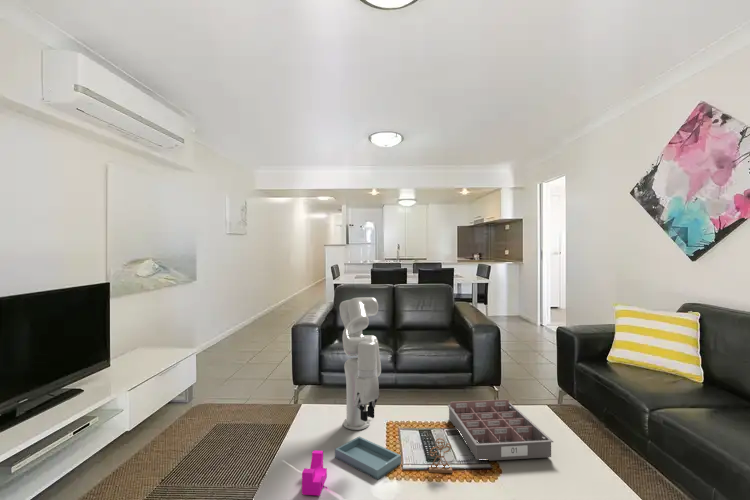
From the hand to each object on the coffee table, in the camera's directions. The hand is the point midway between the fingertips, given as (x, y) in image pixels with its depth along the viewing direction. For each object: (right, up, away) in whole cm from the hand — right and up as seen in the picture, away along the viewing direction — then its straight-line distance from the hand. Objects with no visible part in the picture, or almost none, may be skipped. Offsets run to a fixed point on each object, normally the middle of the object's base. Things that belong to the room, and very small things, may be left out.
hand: (367, 418), depth 153 cm
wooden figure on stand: (+28, -17, -6) cm, 33 cm away
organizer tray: (+56, -17, +18) cm, 62 cm away
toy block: (-18, -17, -14) cm, 29 cm away
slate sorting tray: (0, -17, 0) cm, 17 cm away
